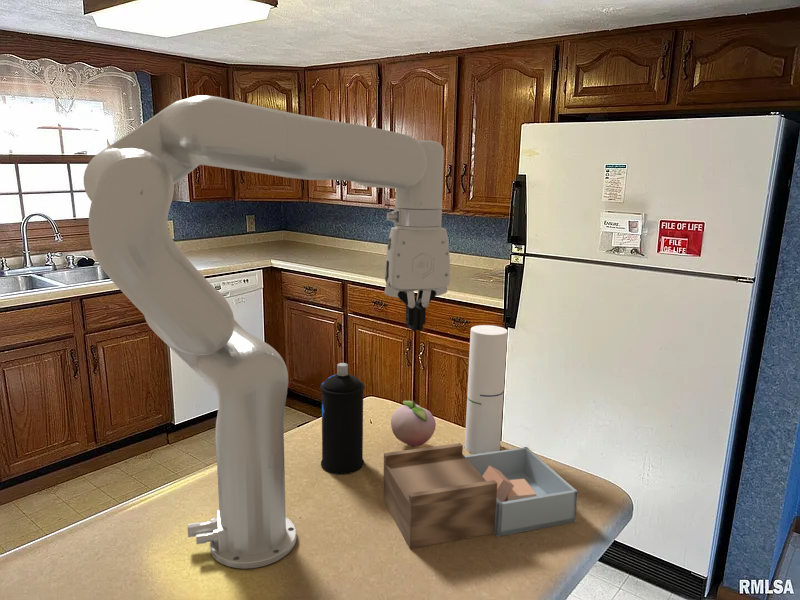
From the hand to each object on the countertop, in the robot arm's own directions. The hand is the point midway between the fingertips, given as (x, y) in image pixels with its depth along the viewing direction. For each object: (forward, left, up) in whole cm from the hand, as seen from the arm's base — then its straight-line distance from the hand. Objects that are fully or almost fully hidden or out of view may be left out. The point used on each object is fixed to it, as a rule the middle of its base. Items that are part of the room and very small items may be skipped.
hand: (415, 328), depth 99 cm
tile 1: (+10, -10, -25) cm, 29 cm away
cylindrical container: (+19, +10, -29) cm, 36 cm away
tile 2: (+15, -11, -26) cm, 32 cm away
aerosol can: (-10, +11, -29) cm, 33 cm away
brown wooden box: (+1, -10, -29) cm, 31 cm away
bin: (+15, -10, -29) cm, 34 cm away
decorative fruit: (+5, +14, -29) cm, 33 cm away
